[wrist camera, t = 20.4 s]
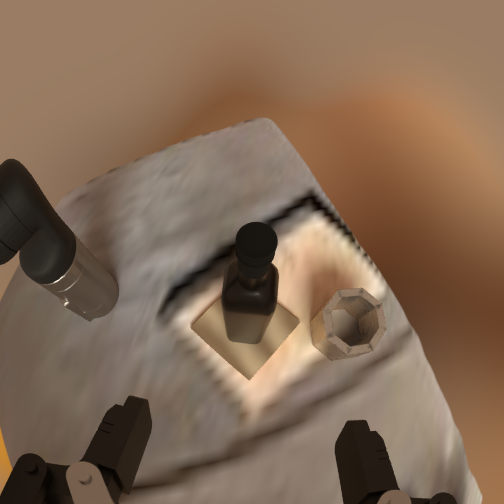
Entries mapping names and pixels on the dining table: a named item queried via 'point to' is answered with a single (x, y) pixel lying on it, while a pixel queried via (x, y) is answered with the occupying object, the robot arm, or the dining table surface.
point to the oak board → (243, 354)
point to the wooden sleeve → (360, 308)
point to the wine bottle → (250, 284)
